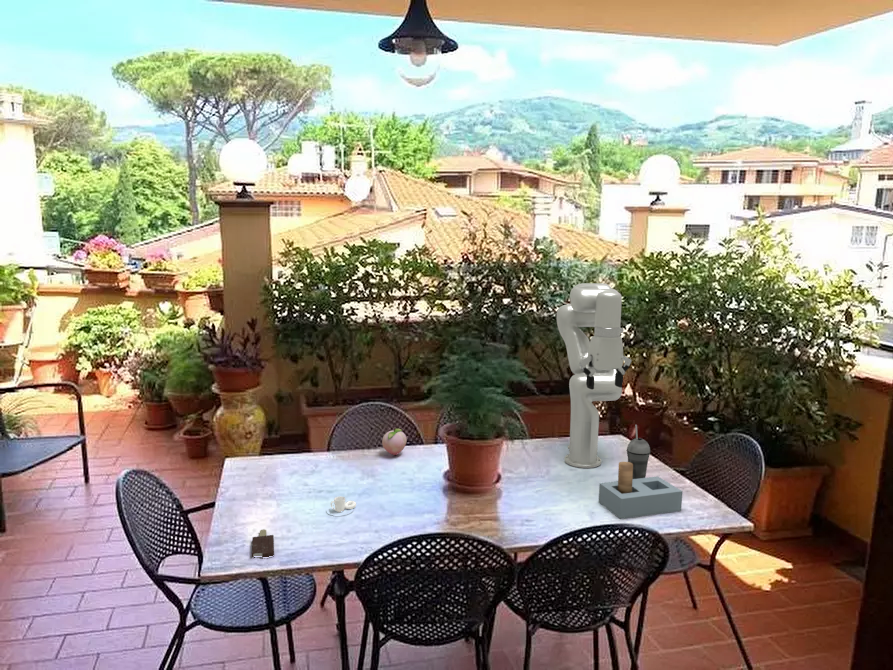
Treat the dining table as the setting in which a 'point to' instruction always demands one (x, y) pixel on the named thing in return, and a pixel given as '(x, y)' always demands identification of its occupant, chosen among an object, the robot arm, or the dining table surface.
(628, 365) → the robot arm
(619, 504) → the bore block
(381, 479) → the dining table surface
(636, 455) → the beverage cup
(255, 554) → the ice cream bar
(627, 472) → the walnut peg
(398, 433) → the decorative fruit
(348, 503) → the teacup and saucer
